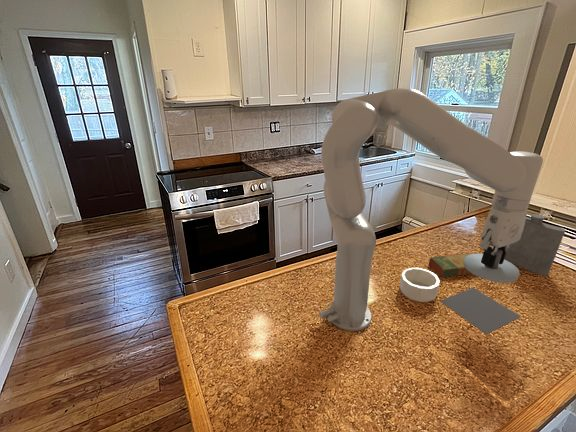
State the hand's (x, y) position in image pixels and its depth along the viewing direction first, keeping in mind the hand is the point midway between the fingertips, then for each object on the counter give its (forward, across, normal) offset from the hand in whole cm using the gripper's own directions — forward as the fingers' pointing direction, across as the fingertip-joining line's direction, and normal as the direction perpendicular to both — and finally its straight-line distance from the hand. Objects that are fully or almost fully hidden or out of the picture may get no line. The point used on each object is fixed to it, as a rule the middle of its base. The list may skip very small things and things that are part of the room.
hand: (491, 262), depth 84 cm
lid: (+2, 0, 0) cm, 2 cm away
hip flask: (+17, +36, +9) cm, 41 cm away
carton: (+17, +12, +18) cm, 28 cm away
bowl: (+17, -10, +14) cm, 24 cm away
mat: (+17, 0, 0) cm, 17 cm away
